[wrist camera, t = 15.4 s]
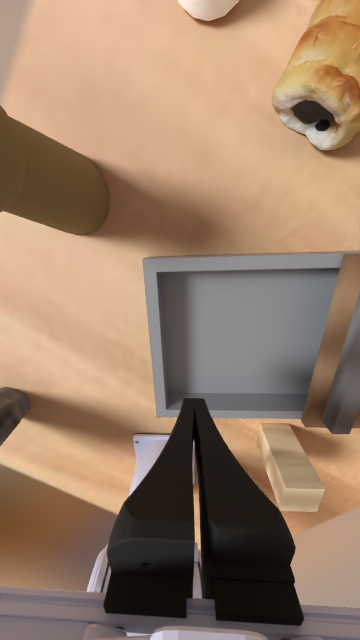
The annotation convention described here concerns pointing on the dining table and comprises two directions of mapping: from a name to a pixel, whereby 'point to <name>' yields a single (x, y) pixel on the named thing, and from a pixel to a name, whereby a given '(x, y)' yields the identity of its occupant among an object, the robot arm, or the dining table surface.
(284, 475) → the block
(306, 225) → the dining table surface
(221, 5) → the white upturned bowl
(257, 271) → the shallow grey box
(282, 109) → the pastry
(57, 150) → the olive pawn figure
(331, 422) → the lid
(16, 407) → the beverage cup
